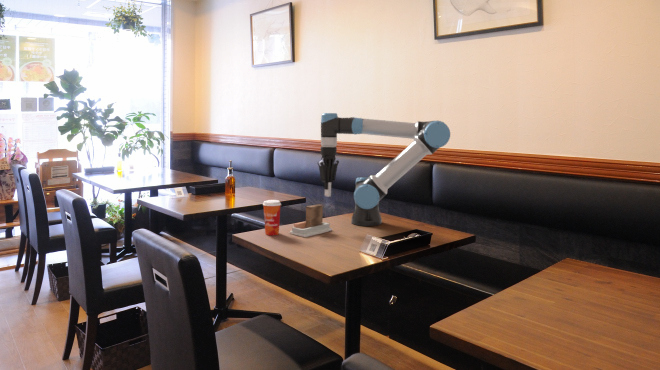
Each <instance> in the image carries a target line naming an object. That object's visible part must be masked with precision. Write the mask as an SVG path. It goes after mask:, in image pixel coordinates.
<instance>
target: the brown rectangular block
mask: <svg viewBox="0 0 660 370" xmlns="http://www.w3.org/2000/svg"><path fill="white" fill-rule="evenodd" d="M323 206H324V205H323V204H320V203H319V204H313V205H312V204H311V205H307V206H305V221H306V228H310V227H314V226H318V225H322V222H323V217H324V216H323V208H324V207H323Z"/></svg>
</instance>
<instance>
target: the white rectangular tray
mask: <svg viewBox="0 0 660 370" xmlns="http://www.w3.org/2000/svg"><path fill="white" fill-rule="evenodd" d="M293 225H294V226H293V227H291V230H289V234H290V235H295V236H298V237H303V238H309V237H312V236H317V235H320V234H323V233H327V232H331V231H333V227H330V223H329V222H324V221H322V225H318V226H314V227H310V228H306V220H305V221H301V222H296V223H294V224H293Z"/></svg>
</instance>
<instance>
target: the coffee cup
mask: <svg viewBox="0 0 660 370" xmlns="http://www.w3.org/2000/svg"><path fill="white" fill-rule="evenodd" d="M262 206H263V217H264V218H263V221H264V233H265V235H266V236H277V235H279V233H280V220H281V206H282V203H281V201H280V200H278V199H267V200H264V201H263V203H262Z"/></svg>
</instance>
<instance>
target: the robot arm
mask: <svg viewBox="0 0 660 370" xmlns="http://www.w3.org/2000/svg"><path fill="white" fill-rule="evenodd" d="M320 117H321V118H320V119H321V120H320V146H321V147H320V155H321V159H320V161H317V165H318V166H317V167H318V169H319V177H320V181H321V182H322V183H323V185H324V186H323V190H324V197H328V198H329V197H331V196H332V189H333V187H332V186H333V184H332V183H335V182H334V181H336V176H337V170H338V165H339V163H340V161H339V159H337V158H336V156H337V150H338V148H337V147H336V146H337V145H338V134H339V135H341V134H342V135H343V134H344V135H368V136H369V135H370V136H381V137H391V138H401V139H411V140H412V139H413V141H412V142H411V143H410V144H409V145H408V146H407V147H406V148H404V149H403V150H402V151H401V152H400V153H398V154H397V156H396V157H394V158H393V159H391V161H390V162H389V163H387V165H385V166H384V167H383V168H382V169H381V170H380V171H378V173H376V174H375V175H374V174H373V175H372V174H371V175H369V176H368V177H357V178H355V189H354V192H353V199H354V202H355V204H354V205H355V206H354V210H353V213H352V216H351V224H353V225H356V226H363V227H375V226H380V225H382V222H383V221H382V215H381V212H380V209H379V205H380V204H379V203H380V201H381V200H382V199H383V198H384V197H385V196H386V195H387V194H388V191H389V190H388V189H390V188H391V187H392V186H393V185H394V184H395V183H396V182H398V181H399V180H400V179H401V178H402V177H403V176H404V175H406V174H407V173H408V172H409V171H410V170H411V169H413V167H414V166H416V165H417V164H418V163H419V162H420V161H422V159H423V158H425V157H426V156H427V155H433V154H434V153H436V152H437V151H438V150H440V148H442V147H444V146H446V145H447V144H448V142H449V141H450V138H451V130H450V128H449V126H448V125H447V124H446V123H445V122H444V121H441V120H429V121H420V120H417V121H416V122H405V121H396V120H395V121H394V120H382V119H372V118H371V119H370V118H362V117H355V116H352V117H339V116H338V113H337V112H333V113H332V112H323V113H322V114H321V116H320Z"/></svg>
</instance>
